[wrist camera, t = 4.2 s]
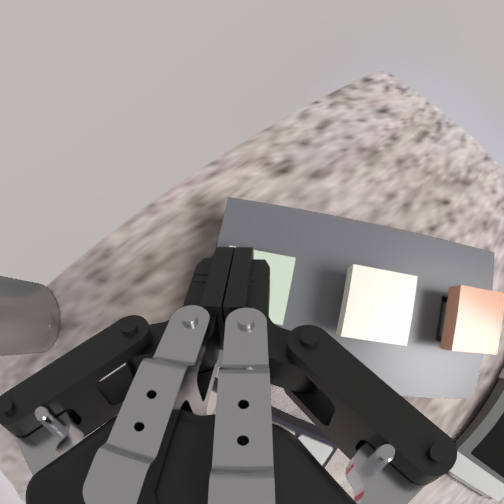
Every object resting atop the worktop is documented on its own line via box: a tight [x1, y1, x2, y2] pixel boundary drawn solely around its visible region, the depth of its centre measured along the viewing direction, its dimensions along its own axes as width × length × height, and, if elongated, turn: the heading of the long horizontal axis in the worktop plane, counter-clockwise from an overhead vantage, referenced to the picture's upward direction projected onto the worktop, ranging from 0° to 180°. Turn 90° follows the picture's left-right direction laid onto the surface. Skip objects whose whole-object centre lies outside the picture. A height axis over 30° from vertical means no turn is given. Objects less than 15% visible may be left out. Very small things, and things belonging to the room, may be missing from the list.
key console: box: [216, 197, 494, 398], centre depth 28 cm, size 26×14×7 cm, turn 79°
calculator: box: [207, 377, 338, 468], centre depth 28 cm, size 11×4×15 cm
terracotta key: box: [436, 285, 504, 354], centre depth 22 cm, size 5×5×6 cm
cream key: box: [336, 264, 418, 346], centre depth 23 cm, size 5×5×6 cm
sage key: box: [229, 246, 296, 325], centre depth 26 cm, size 5×5×6 cm
